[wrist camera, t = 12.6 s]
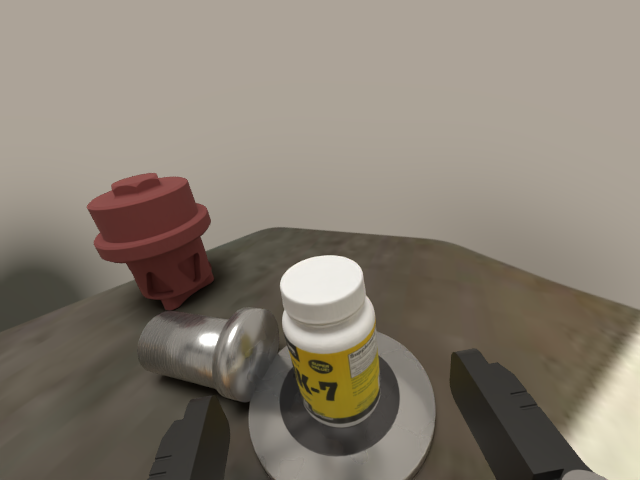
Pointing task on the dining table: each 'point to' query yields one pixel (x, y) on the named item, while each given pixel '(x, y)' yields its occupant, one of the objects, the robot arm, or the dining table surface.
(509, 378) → the robot arm
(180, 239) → the mechanical component
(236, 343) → the flange fitting
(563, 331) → the dining table surface
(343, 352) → the supplement bottle
